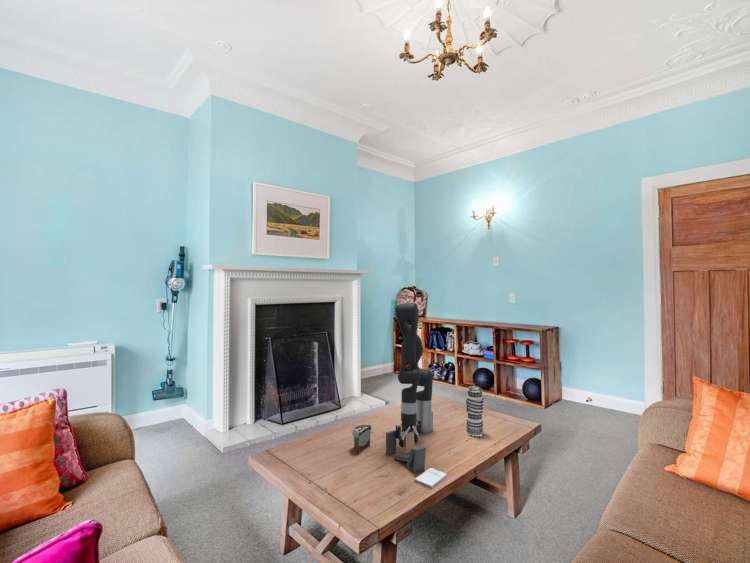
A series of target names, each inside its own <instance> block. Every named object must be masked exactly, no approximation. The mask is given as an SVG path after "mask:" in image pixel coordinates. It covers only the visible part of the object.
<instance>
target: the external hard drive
mask: <svg viewBox="0 0 750 563" xmlns="http://www.w3.org/2000/svg"><path fill="white" fill-rule="evenodd" d="M447 477H448V474H447V473H446V472H443V471H440V470H438V469H436V468H432V467H430V468H428V469H427V470H424V472H422V473H421V474H419V475H418V476H417V477H416V478H414V479H413V481H414V483H417V484H419V485H421V486H424V487H425V488H426V487H427V488H429V489H431V490H432V489H433V488H435V487H436V486H437V485H438V484H440V483H441V482H442V481H443V480H444V479H445V478H447Z"/></svg>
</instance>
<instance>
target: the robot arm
mask: <svg viewBox="0 0 750 563" xmlns="http://www.w3.org/2000/svg"><path fill="white" fill-rule="evenodd" d="M394 308H395V311H394V312H395V317H396V322H397V323H398V326H399V329H400V333H401V335H402V338H403V339H402V340H403V341H402V343H401V348H400V349H401V358H400V360H401V361H400V362H401V363H400V365H399V366H400V367H399V371H398V375H397V380H398V382H399V384H401V385H411V386H409V387H405V388H403V389H402V390H401V403H400V422H401V424H400V425H398V424H396V425H395V431H396V436H395V437H396V440H397V439H398V441H399V442H398V445H399V447H400V448H403V449H404V437H405V436H406V435H407V433H409V432H413V430H414V444H418V441H419V434H428V433H431V432H432V431H433V430H434V412H433V411H432V409H433V407H432V406H433V405H432V404H433V402H432V397H433V385H434V384H433V383H434V382H433V380H434V375H433V371H432V370H431V369H426V368H425V369H424V368H420V367H419V361H420V360H421V358H422V356H423V354H424V346H423V342H422V339H421V337H420V336H419V334H418V324H419V307H418V305H417V303H415V302H407V303H406V302H405V303H398V304H396V306H395V307H394ZM409 322H410V326H409ZM407 366H409V368H406V367H407ZM418 387H423V390H418ZM404 432H405V433H404Z"/></svg>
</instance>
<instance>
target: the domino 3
mask: <svg viewBox="0 0 750 563" xmlns="http://www.w3.org/2000/svg"><path fill="white" fill-rule="evenodd" d="M403 433H405V432H404V431H403ZM403 440H404V447H403V453H407V454H410V453H411V449H412V448H413V447H415V443H414V430H413V432H409V433H407V435H406V436H405V437H404V439H403Z"/></svg>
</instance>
